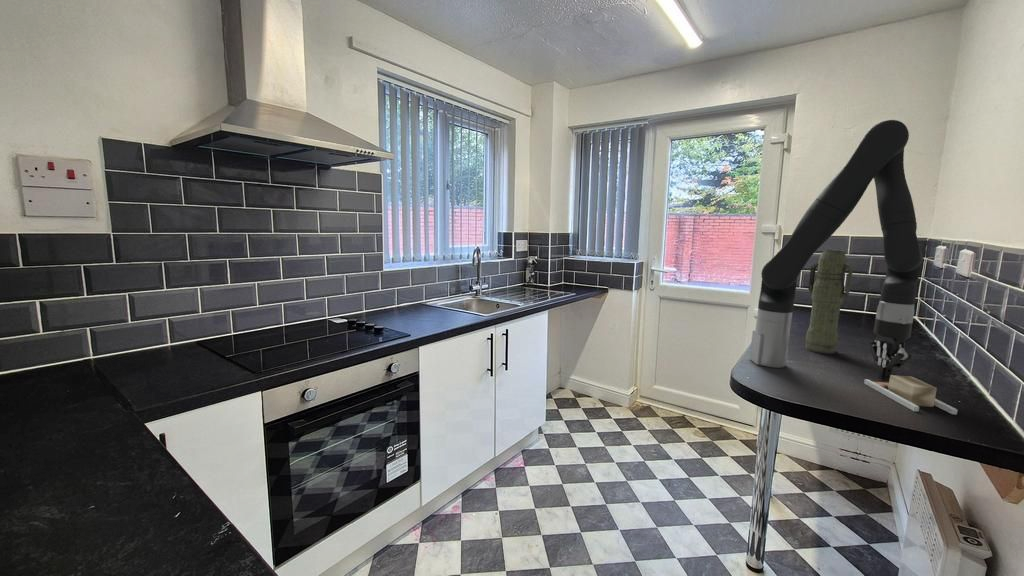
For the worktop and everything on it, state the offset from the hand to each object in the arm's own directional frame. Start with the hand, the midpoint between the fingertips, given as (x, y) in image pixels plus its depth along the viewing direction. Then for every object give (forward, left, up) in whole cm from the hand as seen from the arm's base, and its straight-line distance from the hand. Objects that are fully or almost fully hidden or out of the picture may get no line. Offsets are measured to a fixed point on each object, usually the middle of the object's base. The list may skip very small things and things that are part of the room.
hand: (883, 379), depth 118 cm
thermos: (+1, +33, -2) cm, 33 cm away
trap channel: (0, -9, -2) cm, 9 cm away
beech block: (0, -10, -2) cm, 10 cm away
